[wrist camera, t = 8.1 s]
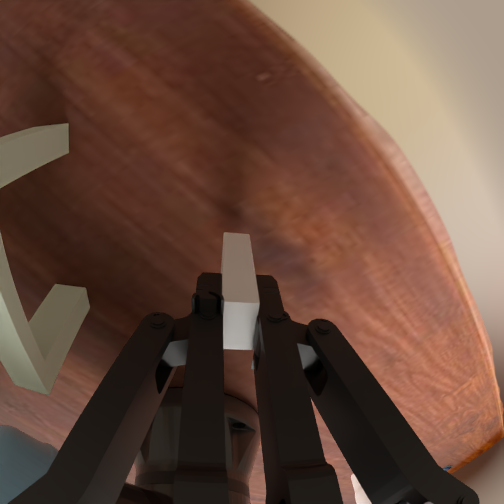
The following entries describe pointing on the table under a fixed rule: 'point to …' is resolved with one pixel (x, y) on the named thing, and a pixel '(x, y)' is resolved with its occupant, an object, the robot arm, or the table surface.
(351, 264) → the table surface
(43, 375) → the bridge
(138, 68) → the table surface
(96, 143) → the table surface
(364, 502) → the mug
